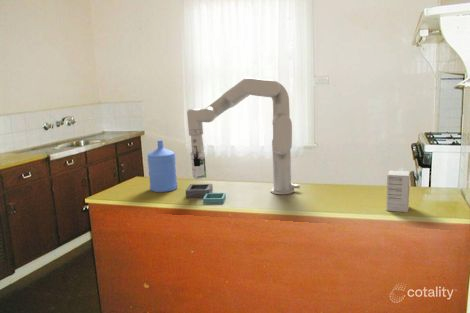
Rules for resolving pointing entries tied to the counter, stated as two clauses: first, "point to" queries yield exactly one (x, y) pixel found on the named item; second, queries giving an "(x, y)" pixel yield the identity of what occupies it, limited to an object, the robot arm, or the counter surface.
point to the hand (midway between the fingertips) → (198, 164)
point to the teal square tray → (214, 198)
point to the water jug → (162, 169)
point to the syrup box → (199, 167)
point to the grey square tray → (198, 190)
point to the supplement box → (398, 191)
